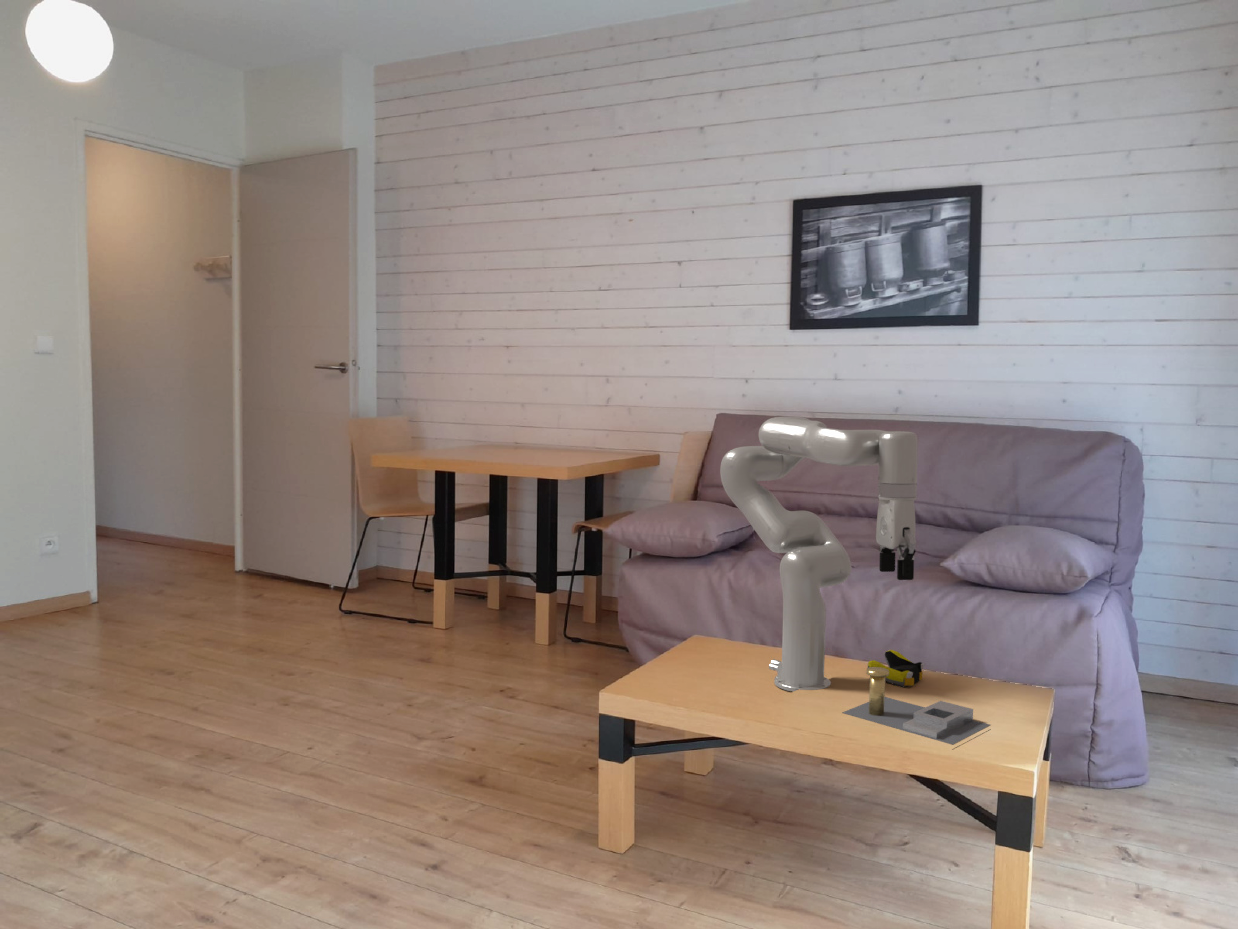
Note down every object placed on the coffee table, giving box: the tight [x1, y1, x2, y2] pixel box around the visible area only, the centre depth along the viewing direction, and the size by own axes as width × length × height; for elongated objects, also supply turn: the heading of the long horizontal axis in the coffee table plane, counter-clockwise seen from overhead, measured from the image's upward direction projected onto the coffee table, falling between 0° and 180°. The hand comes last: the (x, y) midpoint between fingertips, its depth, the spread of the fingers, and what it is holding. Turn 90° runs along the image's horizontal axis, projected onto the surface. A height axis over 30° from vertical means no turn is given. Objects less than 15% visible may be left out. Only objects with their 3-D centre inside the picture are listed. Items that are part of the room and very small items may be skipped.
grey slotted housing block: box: [903, 700, 974, 739], centre depth 187 cm, size 7×15×2 cm, turn 134°
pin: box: [866, 667, 889, 716], centre depth 194 cm, size 4×4×9 cm
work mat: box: [841, 696, 991, 750], centre depth 191 cm, size 24×16×1 cm, turn 44°
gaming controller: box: [867, 649, 925, 688], centre depth 220 cm, size 15×6×10 cm
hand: (896, 575), depth 194 cm, fingers open, 9 cm apart
